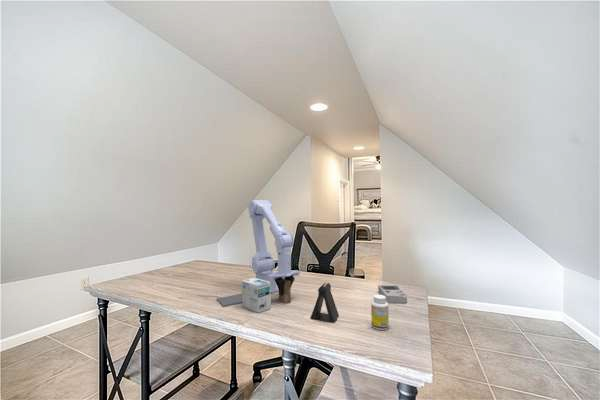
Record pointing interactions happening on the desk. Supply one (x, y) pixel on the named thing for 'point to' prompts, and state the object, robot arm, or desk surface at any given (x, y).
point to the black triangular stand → (330, 305)
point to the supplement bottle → (380, 312)
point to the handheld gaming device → (392, 293)
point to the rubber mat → (230, 300)
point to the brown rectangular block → (286, 292)
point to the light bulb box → (256, 294)
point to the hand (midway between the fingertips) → (284, 294)
